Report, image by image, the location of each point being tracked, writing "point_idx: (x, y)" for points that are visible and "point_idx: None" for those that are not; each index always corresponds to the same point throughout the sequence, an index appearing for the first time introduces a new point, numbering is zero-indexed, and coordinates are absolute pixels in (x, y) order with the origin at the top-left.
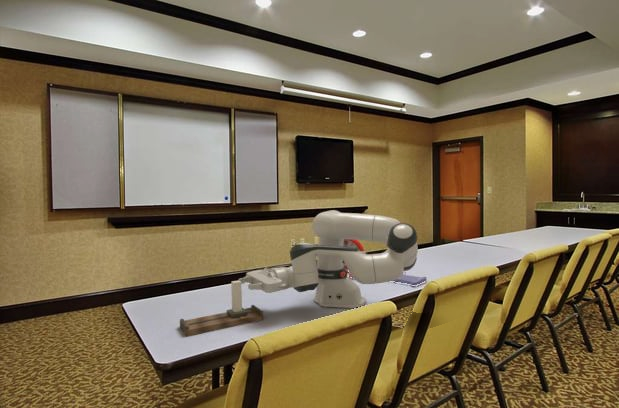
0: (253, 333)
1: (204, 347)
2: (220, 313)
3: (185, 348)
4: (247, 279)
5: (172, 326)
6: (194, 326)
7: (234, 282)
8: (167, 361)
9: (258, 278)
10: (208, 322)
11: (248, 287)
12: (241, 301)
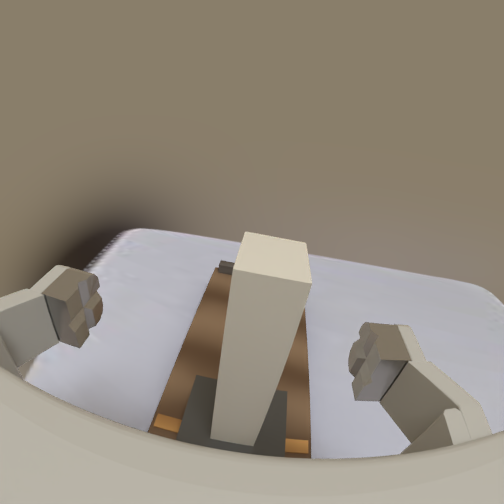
0: (42, 383)
1: (113, 274)
2: (308, 387)
3: (149, 258)
4: (425, 432)
5: (314, 291)
6: (229, 286)
7: (257, 239)
8: (130, 232)
9: (70, 427)
10: None
11: (96, 296)
12: (215, 404)
